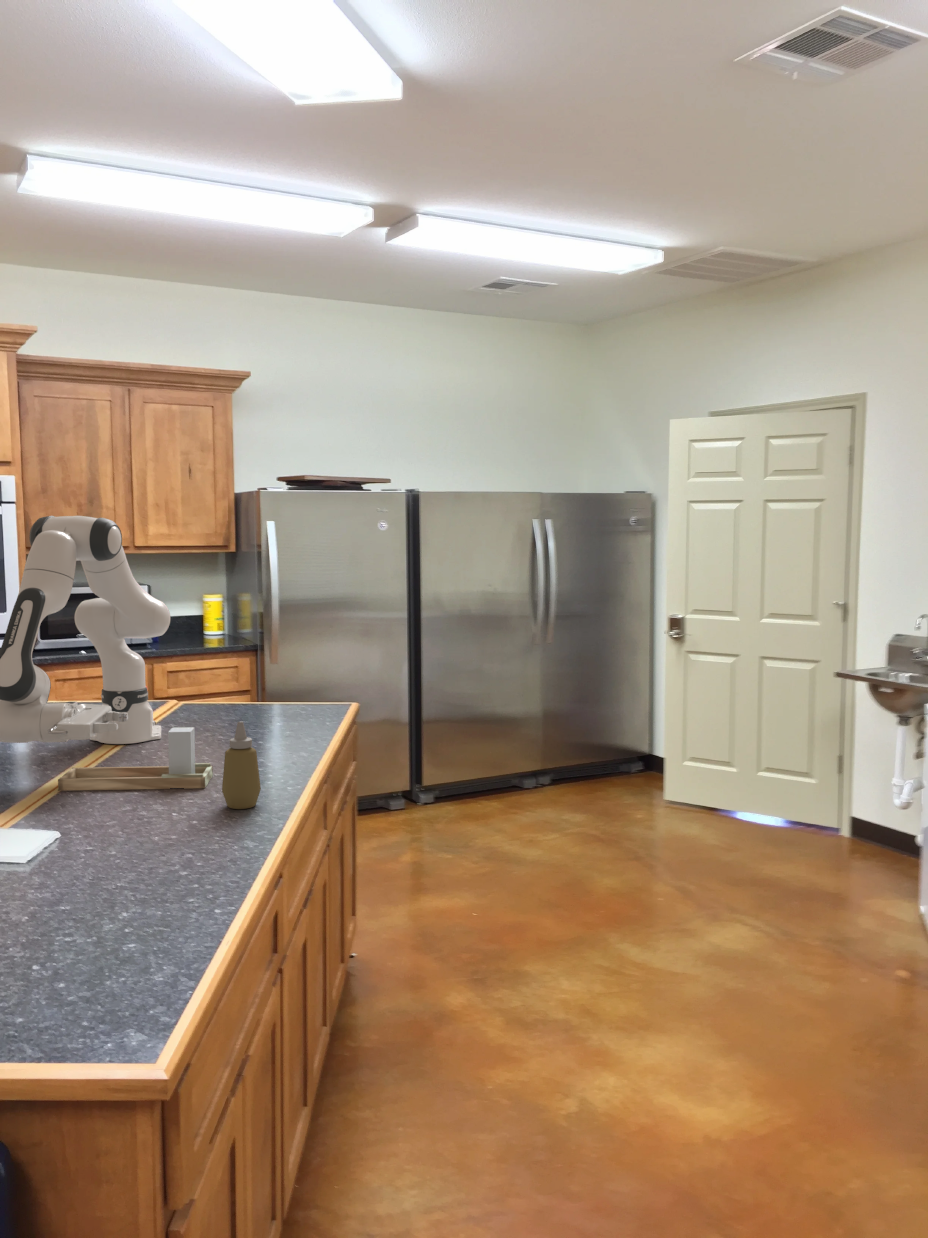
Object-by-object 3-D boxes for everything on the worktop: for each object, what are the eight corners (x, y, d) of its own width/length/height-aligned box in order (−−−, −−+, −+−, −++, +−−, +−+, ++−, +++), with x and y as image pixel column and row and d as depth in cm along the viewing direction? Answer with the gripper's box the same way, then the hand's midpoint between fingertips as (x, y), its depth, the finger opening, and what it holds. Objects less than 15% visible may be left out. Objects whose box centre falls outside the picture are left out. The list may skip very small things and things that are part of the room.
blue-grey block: (173, 778, 231) (172, 727, 230) (195, 778, 231) (194, 727, 230) (169, 784, 226) (167, 732, 225) (191, 783, 226) (190, 731, 225)
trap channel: (73, 778, 232) (72, 765, 232) (212, 775, 235) (212, 763, 235) (58, 790, 221) (57, 777, 221) (205, 788, 224) (204, 774, 224)
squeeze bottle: (268, 803, 212) (267, 719, 211) (248, 813, 205) (247, 727, 203) (235, 799, 215) (234, 717, 213) (214, 809, 207) (212, 724, 206)
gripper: (44, 719, 215) (110, 718, 216) (72, 700, 235) (132, 699, 236) (45, 747, 215) (111, 746, 217) (73, 726, 236) (133, 725, 237)
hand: (122, 721), depth 227 cm, fingers open, 8 cm apart
